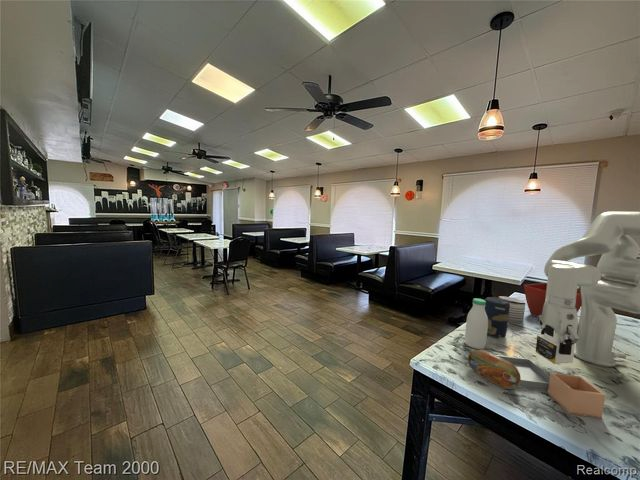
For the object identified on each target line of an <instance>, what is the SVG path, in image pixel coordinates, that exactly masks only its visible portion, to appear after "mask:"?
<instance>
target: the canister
mask: <svg viewBox="0 0 640 480" xmlns="http://www.w3.org/2000/svg"><path fill="white" fill-rule="evenodd" d="M484 300H485V301H486V305H485V312H486V315H487V318H488V329H487V336H488V337H491V338H495V339H504V338H506V337H507V331H508V326H509V325H508V324H509V323H508V319H509V308H510V303H509V302H508V301H506V300H504V299H500V298H499V297H496V296H494V297H491V296H488V297H486V298H485V299H484Z"/></svg>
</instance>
